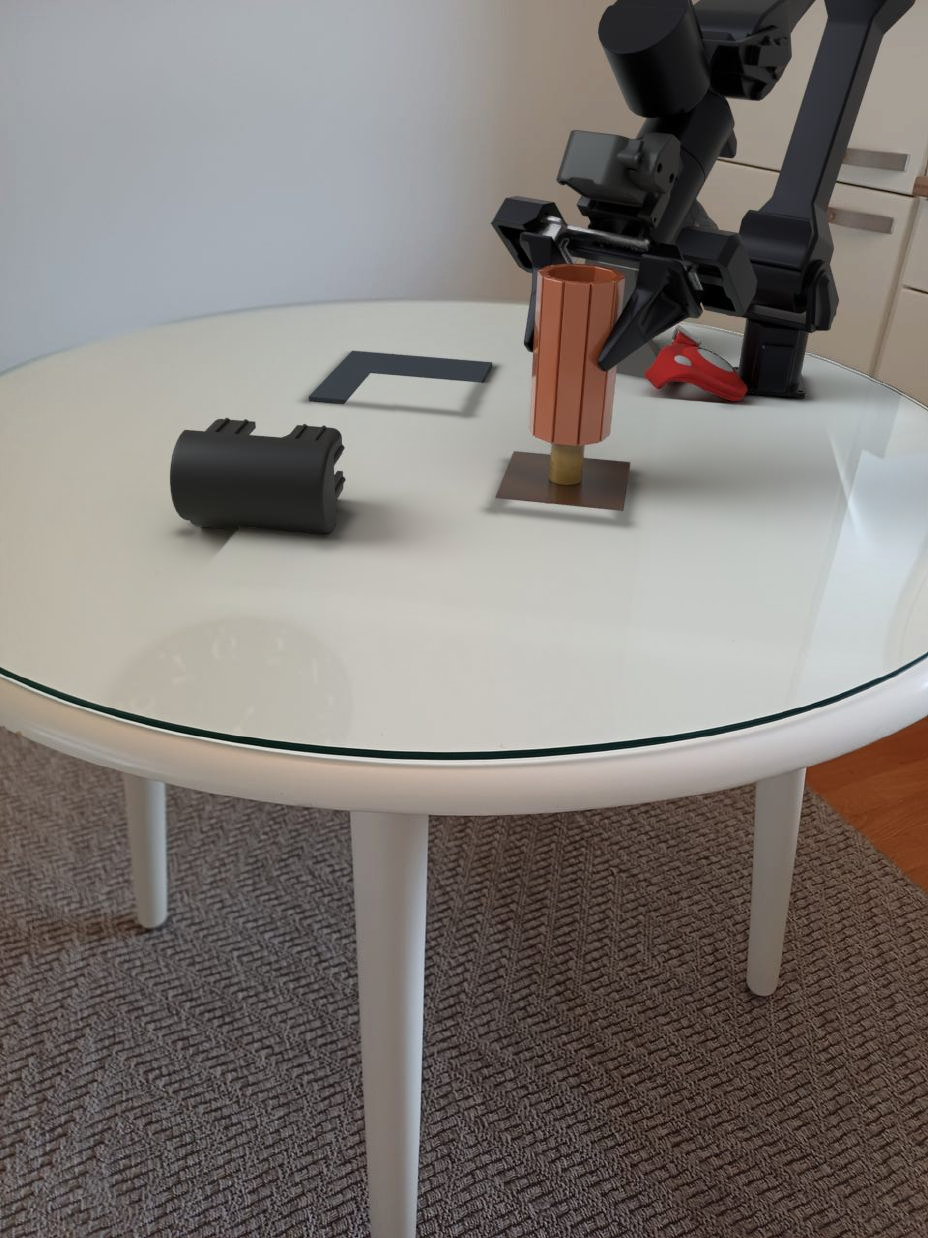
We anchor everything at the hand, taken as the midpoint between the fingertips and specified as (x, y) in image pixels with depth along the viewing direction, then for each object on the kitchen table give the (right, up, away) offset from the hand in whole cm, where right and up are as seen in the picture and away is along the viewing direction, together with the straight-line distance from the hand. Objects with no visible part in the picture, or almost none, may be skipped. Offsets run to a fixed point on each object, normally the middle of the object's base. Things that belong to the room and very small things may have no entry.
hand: (563, 358), depth 74 cm
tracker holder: (+15, +4, +28) cm, 31 cm away
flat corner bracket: (-12, +4, +26) cm, 29 cm away
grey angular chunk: (+11, +9, +37) cm, 40 cm away
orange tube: (+1, -4, +4) cm, 6 cm away
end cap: (-20, -12, 0) cm, 23 cm away
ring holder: (+1, -8, +6) cm, 10 cm away
